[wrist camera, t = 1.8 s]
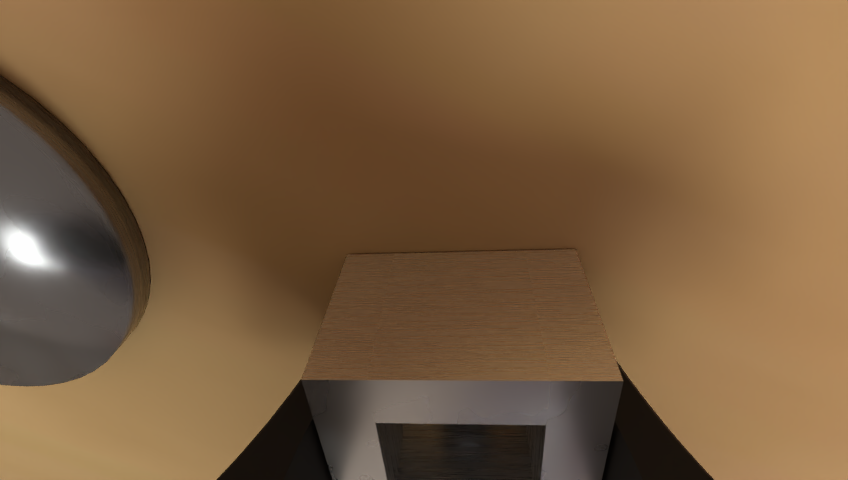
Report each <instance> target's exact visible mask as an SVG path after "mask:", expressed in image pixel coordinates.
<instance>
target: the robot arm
mask: <svg viewBox="0 0 848 480" xmlns="http://www.w3.org/2000/svg"><path fill="white" fill-rule="evenodd" d="M616 362H617V361H616ZM617 365H618V367H619V370H620V373H621V376H622V378H623V386H622V390H621V395H620V399H619V404H618V408H617V413H616V417H615V422H614V426H613V431H612V435H611V440H610V444H609V449H608V454H607V458H606V463H605V467H604V472H603V476H602V480H714V479H713V478H712V477H711V476H710V475H709V474H708V473H707V472H706V471H705V469H704V468H703V467H702V466H701V465H700V464H699V463H698V462H697V461H696V460H695V459H694V457H693V456H692V455H691V454H690V453H689V452H688V451H687V450H686V448H685V447H684V446H683V445H682V444H681V443H680V442H679V440H678V439H677V438H676V437H675V436H674V435H673V433H672V432H671V431H670V430H669V429H668V427H667V426H666V425H665V424H664V423H663V421H662V420H661V419H660V418H659V416H658V415H657V414H656V413H655V412H654V410H653V409H652V408H651V407H650V405H649V404H648V403H647V401H646V400H645V399H644V398H643V396H642V395H641V394H640V392H639V391H638V390H637V388H636V387H635V386H634V384H633V383H632V382H631V380H630V379H629V378H628V376H627V375H626V373H625V372H624V371H623V369H622V368H621V366H620V365H619V364H618V362H617ZM217 480H332V477H331V473H330V470H329V467H328V464H327V461H326V458H325V454H324V451H323V448H322V445H321V442H320V438H319V435H318V432H317V429H316V426H315V423H314V419H313V416H312V413H311V410H310V407H309V404H308V400H307V397H306V394H305V391H304V388H303V384H302V381H301V380H300V381H299V383H298V384H297V385H296V387H295V388H294V389H293V391H292V392H291V393H290V395H289V396H288V397H287V399H286V400H285V401H284V402H283V404H282V405H281V406H280V408H279V409H278V410H277V411H276V413H275V414H274V415H273V416H272V418H271V419H270V420H269V421H268V423H267V424H266V425H265V426H264V427H263V429H262V430H261V431H260V432H259V433H258V434H257V436H256V437H255V438H254V439H253V440H252V441H251V443H250V444H249V445H248V446H247V447H246V448H245V450H244V451H243V452H242V453H241V454H240V455H239V456H238V457H237V458H236V460H235V461H234V462H233V463H232V464H231V465H230V466H229V467H228V468H227V469H226V470H225V471H224V472H223V473H222V474H221V475H220V476H219V478H218V479H217Z"/></svg>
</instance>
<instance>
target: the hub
mask: <svg viewBox="0 0 848 480" xmlns="http://www.w3.org/2000/svg"><path fill="white" fill-rule="evenodd" d="M149 290H150V271H149V261H148V257H147V253H146V249H145V245H144V241H143V239H142V236H141V234H140V231H139V228H138V226H137V223H136V221H135V219H134V217H133V215H132V213H131V211H130V209H129V208H128V206H127V204H126V202H125V200H124V198H123V196H122V195H121V193H120V192H119V190H118V189H117V188H116V186H115V185H114V183H113V182H112V180H111V179H110V177H109V176H108V174H107V173H106V172H105V170H104V169H103V168H102V167H101V165H100V164H99V163H98V162H97V161H96V159H95V158H94V157H93V156H92V155H91V153H90V152H89V151H88V150H87V149H86V147H85V146H84V145H83V144H82V143H81V142H80V141H79V140H78V139H77V138H76V137H75V136H74V135H73V134H72V133H71V132H70V131H69V130H68V129H67V128H66V127H65V126H64V125H63V124H62V123H61V122H60V121H58V120H57V119H56V118H55V117H54V116H53V115H51V114H50V113H49V112H48V111H47V110H46V109H44V108H43V107H42V106H41V105H40V104H39V103H37V102H36V101H35V100H34V99H33V98H31V97H30V96H28V95H27V94H26V93H24V92H23V91H21V90H20V89H19V88H17V87H16V86H15V85H13V84H12V83H10V82H9V81H8V80H6V79H5V78H3V77H2V76H0V384H1V385H11V386H45V385H52V384H58V383H64V382H68V381H71V380H74V379H78V378H80V377H83V376H85V375H87V374H89V373H91V372H93V371H95V370H96V369H97V368H99V367H100V366H101V365H103V364H104V363H105V362H107V360H108V359H109V358H110V357H111V356H112V355H113V354H114V352H115V351H116V350H117V349H118V348H119V347H120V345H121V344H122V343H123V342H124V341H125V339H126V338H127V337H128V336H129V335H130V334H131V332H132V331H133V330H134V329H135V328H136V326H137V325H138V323H139V321H140V320H141V318H142V316H143V314H144V312H145V309H146V305H147V302H148V299H149Z"/></svg>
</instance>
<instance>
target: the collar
mask: <svg viewBox="0 0 848 480" xmlns="http://www.w3.org/2000/svg"><path fill="white" fill-rule="evenodd" d="M301 381H302V384H303V388H304V391H305V394H306V397H307V400H308V404H309V407H310V410H311V413H312V416H313V419H314V423H315V426H316V429H317V432H318V435H319V438H320V442H321V445H322V448H323V451H324V454H325V458H326V461H327V464H328V467H329V470H330V473H331V477H332V480H602V476H603V472H604V467H605V463H606V458H607V454H608V449H609V444H610V440H611V435H612V431H613V426H614V422H615V417H616V413H617V408H618V404H619V399H620V395H621V390H622V386H623V378H622V376H621V373H620V370H619V367H618V365H617V362H616V359H615V356H614V354H613V351H612V348H611V345H610V342H609V340H608V337H607V334H606V331H605V329H604V326H603V323H602V320H601V318H600V315H599V312H598V309H597V306H596V304H595V301H594V298H593V295H592V293H591V290H590V287H589V284H588V282H587V279H586V276H585V273H584V270H583V268H582V265H581V262H580V259H579V257H578V254H577V251H576V249H563V250H520V251H477V252H434V253H391V254H348V255H347V256H346V259H345V262H344V265H343V267H342V270H341V273H340V275H339V278H338V281H337V284H336V286H335V289H334V292H333V294H332V297H331V300H330V303H329V305H328V308H327V311H326V313H325V316H324V319H323V322H322V324H321V327H320V330H319V332H318V335H317V338H316V341H315V343H314V346H313V349H312V351H311V354H310V357H309V360H308V362H307V365H306V368H305V370H304V373H303V376H302V379H301Z"/></svg>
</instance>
